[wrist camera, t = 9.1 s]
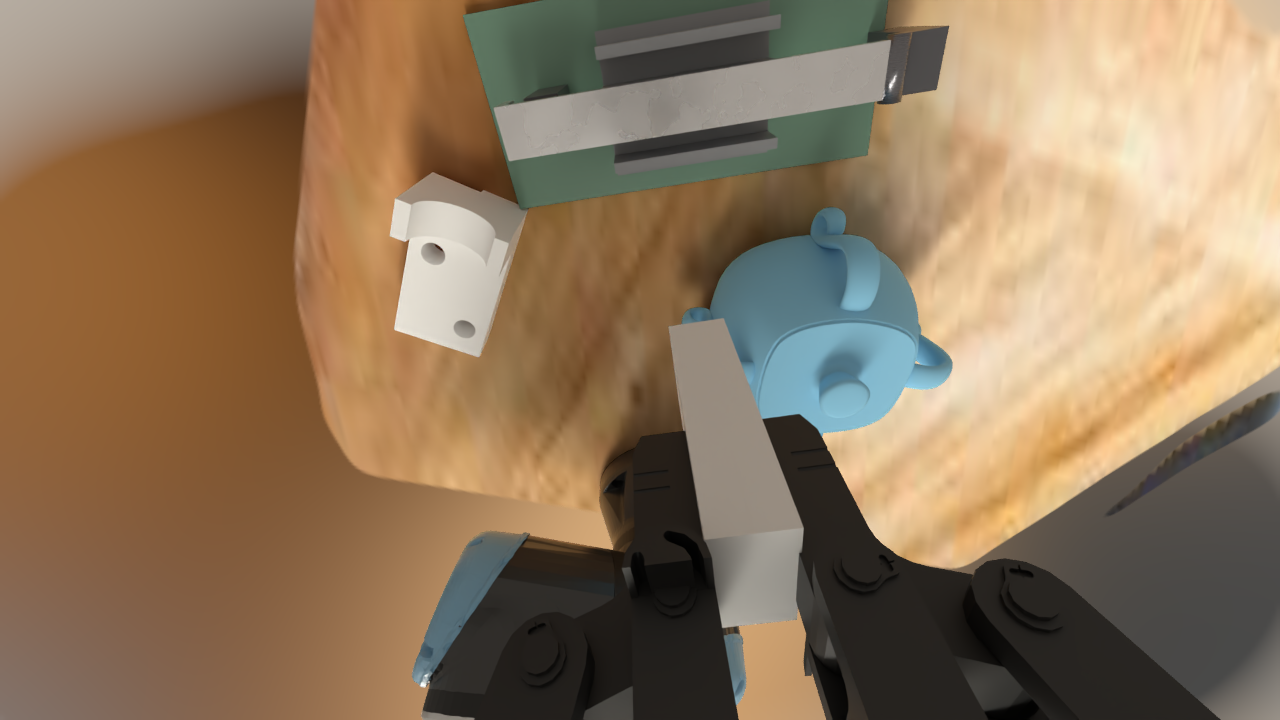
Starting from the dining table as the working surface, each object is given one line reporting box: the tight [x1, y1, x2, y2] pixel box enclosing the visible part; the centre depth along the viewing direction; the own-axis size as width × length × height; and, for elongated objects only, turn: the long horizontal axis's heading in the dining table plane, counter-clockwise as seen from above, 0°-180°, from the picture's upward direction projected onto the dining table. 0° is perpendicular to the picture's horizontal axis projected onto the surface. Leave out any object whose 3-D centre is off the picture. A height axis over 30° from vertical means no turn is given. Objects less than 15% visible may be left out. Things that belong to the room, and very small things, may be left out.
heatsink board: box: [463, 0, 949, 209], centre depth 29 cm, size 12×27×6 cm, turn 98°
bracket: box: [390, 172, 528, 357], centre depth 36 cm, size 13×7×8 cm, turn 156°
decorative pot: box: [682, 207, 952, 437], centre depth 36 cm, size 16×16×14 cm
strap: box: [494, 31, 912, 161], centre depth 26 cm, size 3×23×3 cm, turn 98°
